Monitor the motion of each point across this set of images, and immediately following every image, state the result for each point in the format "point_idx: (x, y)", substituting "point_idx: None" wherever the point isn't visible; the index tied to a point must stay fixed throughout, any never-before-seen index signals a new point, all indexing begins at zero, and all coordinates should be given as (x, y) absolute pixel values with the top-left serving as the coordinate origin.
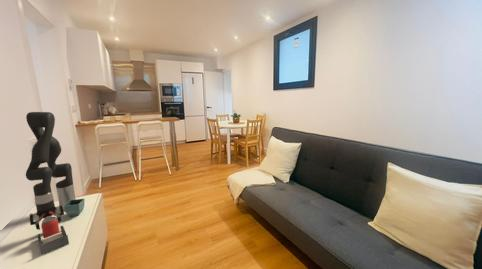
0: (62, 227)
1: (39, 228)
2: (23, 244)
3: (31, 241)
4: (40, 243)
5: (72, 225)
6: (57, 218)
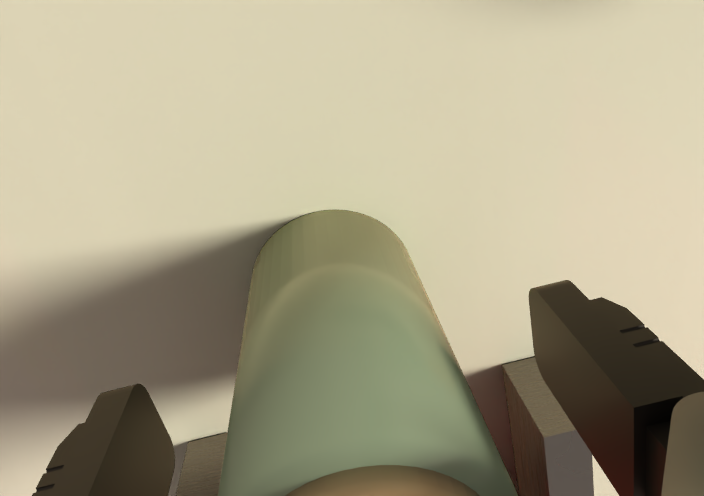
0: (576, 493)
1: (160, 492)
2: (2, 473)
3: None
4: None
5: (685, 268)
6: (601, 416)
